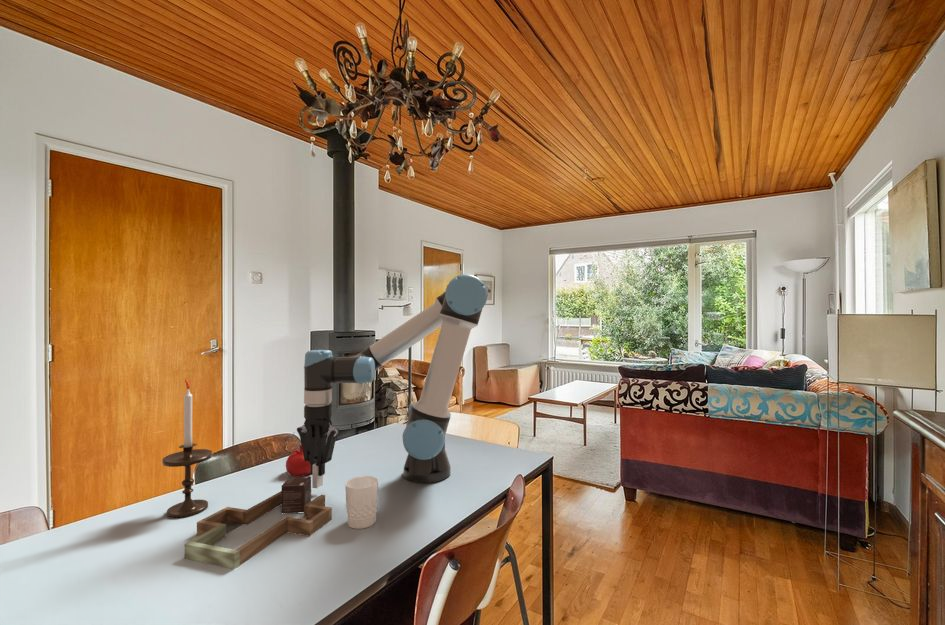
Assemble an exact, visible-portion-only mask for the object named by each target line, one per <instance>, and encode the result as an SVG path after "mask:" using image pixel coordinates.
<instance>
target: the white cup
mask: <svg viewBox="0 0 945 625" xmlns="http://www.w3.org/2000/svg"><path fill="white" fill-rule="evenodd" d="M344 485H345V486H344V488H345V503H346V504H345V506H346V513H347V526H349V527H350V528H352V529H355V530H357V529H358V530H359V529H361V530H362V529H367V528H369V527H372V526H373V525H374V524H375V523H376V521H377V509H378V494H379V492H378V491H379V479H378V478H377V477H375V476H372V475H362V476H361V475H360V476H355V477H352V478H350V479H348V480H346V481H345V483H344Z"/></svg>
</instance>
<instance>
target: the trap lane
mask: <svg viewBox="0 0 945 625" xmlns="http://www.w3.org/2000/svg"><path fill="white" fill-rule="evenodd" d="M281 491H282V490H281ZM281 491H278V492H277V493H275V494H273V495H271V496H269V497H268V498H266V499H264V500H262V501H261V502H259V503H256V504H255V505H253V506H251V507H250V508H248V509H244V508H238V507H237V508H236V507H231V506H226V507H224V508H222V509H220V510H218V511H216V512H214V513H212V514H210V515H208V516H206V517H203V518H202V519H200V520H199V521H196V537H194V538H193V539H191V540H189V541H187V542H186V543H184V547H183V548H184V552H183V553H184V560H185V559H186V560H191V561H195V562H200V563H205V564H210V565H215V566H220V567H223V568H227V569H228V568H229V569H234V570H235V569H237V568H238V567H240V566H241V565H243V564H244V563H246V562H247V561H248V560H250V559H251V558H253V557H254V556H256V555H257V554H259V553H260V552H262V551H263V550H265V549H266V548H267V547H269V546H270V545H272V544H273V543H275V542H276V541H277V540H279V539H280V538H282V537H283V536H284V535H286V534H294V533H296V534H295V535H300V534H301V536H306V535H308V536H307V537H311V536H312V535H313V534H314V533H316V532H318V531H319V530H320V529H321V528H323V527H324V526H326V524H328V523H330V522H331V521H332V520H333V507H332V506H326V495H325V494H320V495H318V496H317V497H315V498H314V499H311V502H309V503H307V504H306V505H304V513H303V518H304V519H303V518H298V517H294V516H293V517H292V516H286V517H284V518H283V519H281V520H279V521H278V522H277V523H275V524H273V525H271V526H270V527H268V528H267V529H265V530H264V531H262V532H261V533H259V534H257V535H256V536H255V537H252V538H251V539H250V540H248V541H245V542H244V544H242V545H240V546H239V547H237V548H236V549H233V548H227V547H223V546H222V547H221V546H217V545H216V544H217V543H218V542H220V541H222V540H224V539H226V537H227V535H228V534H229V533H231V532H232V531H235V530H236V529H237V528H239V527H241V526H242V525H245V526H247V525H249V524H251V523H253V522H254V521H256V520H258V519H259V518H261V517H263V516H264V514H265V515H266V514H268V513H270V512H271V511H273V510H275V509H276V508H278V507H281ZM323 525H324V526H323ZM319 528H320V529H319ZM318 529H319V530H318ZM288 532H289V533H288ZM310 535H311V536H310Z"/></svg>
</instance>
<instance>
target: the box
mask: <svg viewBox="0 0 945 625" xmlns="http://www.w3.org/2000/svg"><path fill="white" fill-rule="evenodd" d="M311 501H312V475H311V476H309V475H308V476H298V477H296V476H292V477H291V476H290V477H289V476H288V478H287V479H286V480H285V481H284V483H283V484H281V505H280V507H281V508H280V510H281V512H280V513H281V514H282V513H283V514H284V513H287V514H299V513H298V512H304V505H306V504H307V503H309V502H311ZM283 514H282V515H283Z"/></svg>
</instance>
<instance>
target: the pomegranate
mask: <svg viewBox="0 0 945 625" xmlns="http://www.w3.org/2000/svg"><path fill="white" fill-rule="evenodd" d="M298 447H299V449H296V448H294V449H292V451H291V454H290V455H288V456H287V459H286V462H285V469H286V472H287V473H288V475H289V476H292V477H305V476H306V475H308V474H311V473H310V471H311V464H310V462H308V461H305V460H304V456H303V451H302V445H301V444H300V445H298Z"/></svg>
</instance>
